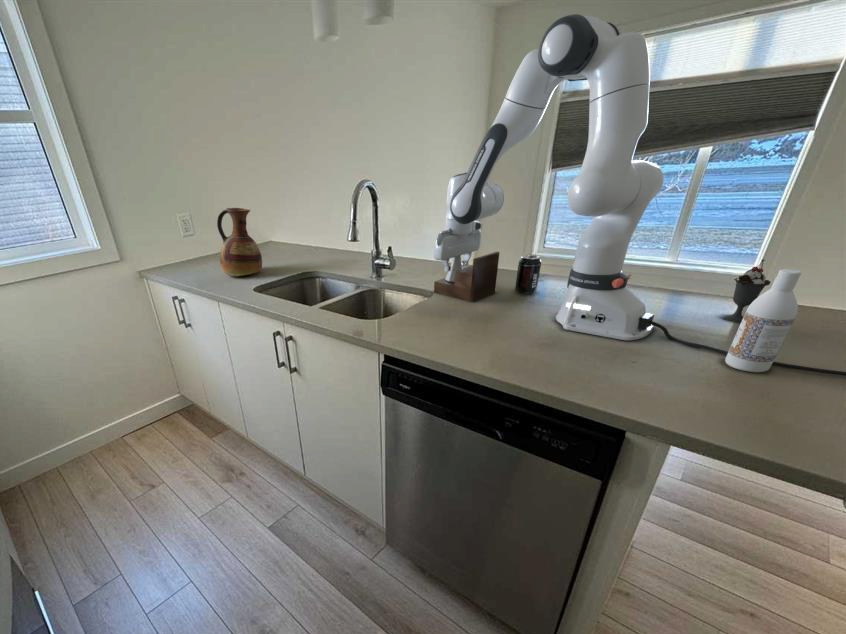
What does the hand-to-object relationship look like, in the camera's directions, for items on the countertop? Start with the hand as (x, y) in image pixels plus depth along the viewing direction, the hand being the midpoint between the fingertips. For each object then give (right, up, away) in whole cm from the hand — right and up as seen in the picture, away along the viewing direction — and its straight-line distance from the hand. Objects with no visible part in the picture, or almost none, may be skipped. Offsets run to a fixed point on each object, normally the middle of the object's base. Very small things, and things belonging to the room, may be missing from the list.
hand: (456, 268), depth 141 cm
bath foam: (+44, -37, -57) cm, 81 cm away
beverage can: (+23, -10, -4) cm, 25 cm away
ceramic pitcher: (-88, +12, +54) cm, 103 cm away
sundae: (+63, -24, -36) cm, 76 cm away
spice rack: (+3, -8, +1) cm, 9 cm away
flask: (0, -4, +2) cm, 4 cm away
